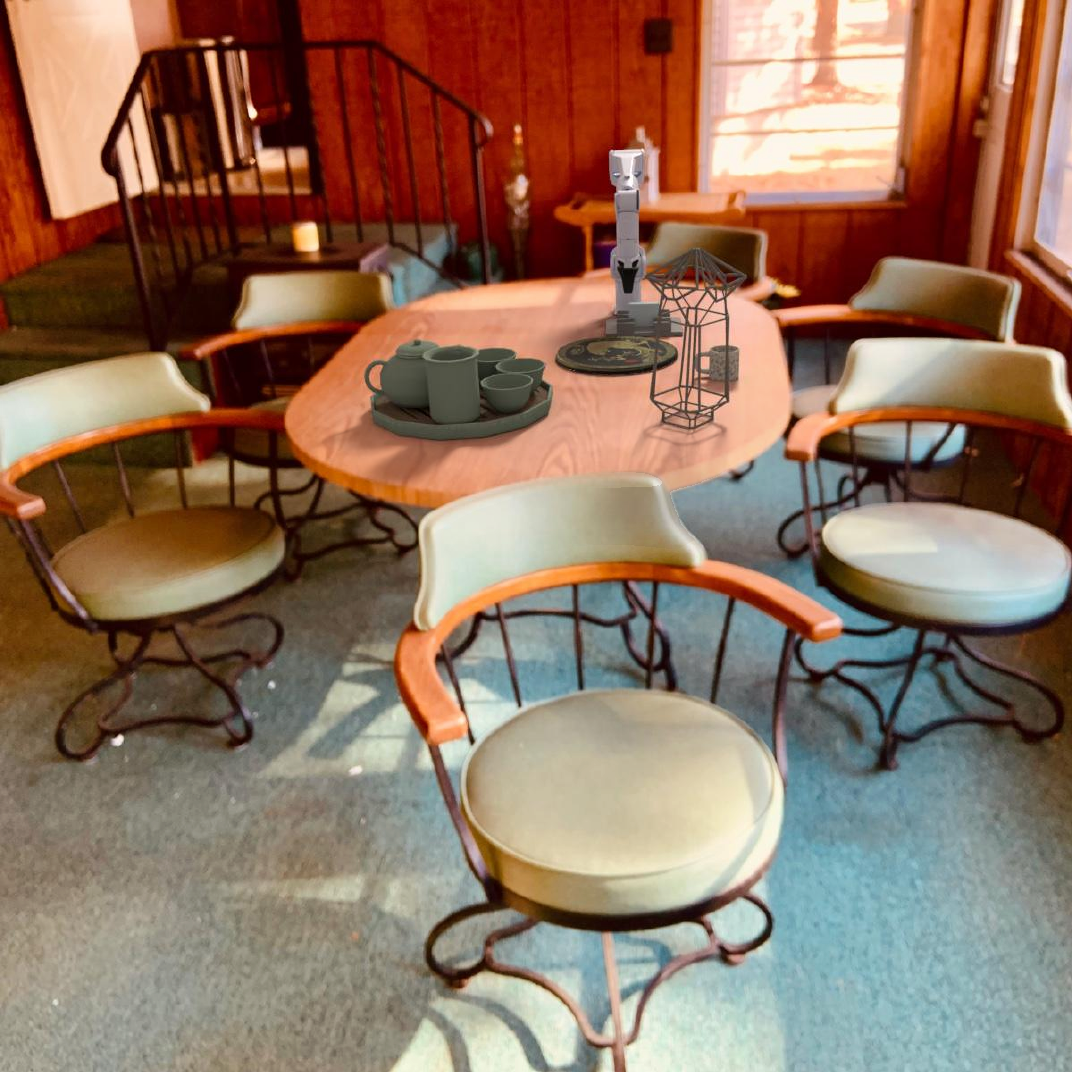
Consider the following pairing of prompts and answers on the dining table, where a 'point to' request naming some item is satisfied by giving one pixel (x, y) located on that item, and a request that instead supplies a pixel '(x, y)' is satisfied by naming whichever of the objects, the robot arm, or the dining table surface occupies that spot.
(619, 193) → the robot arm
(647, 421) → the dining table surface
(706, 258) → the geometric lantern
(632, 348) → the decorative plate
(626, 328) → the grey slotted organizer
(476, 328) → the dining table surface
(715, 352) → the mug
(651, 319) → the grey rectangular block
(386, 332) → the dining table surface
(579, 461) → the dining table surface
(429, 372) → the tea set
